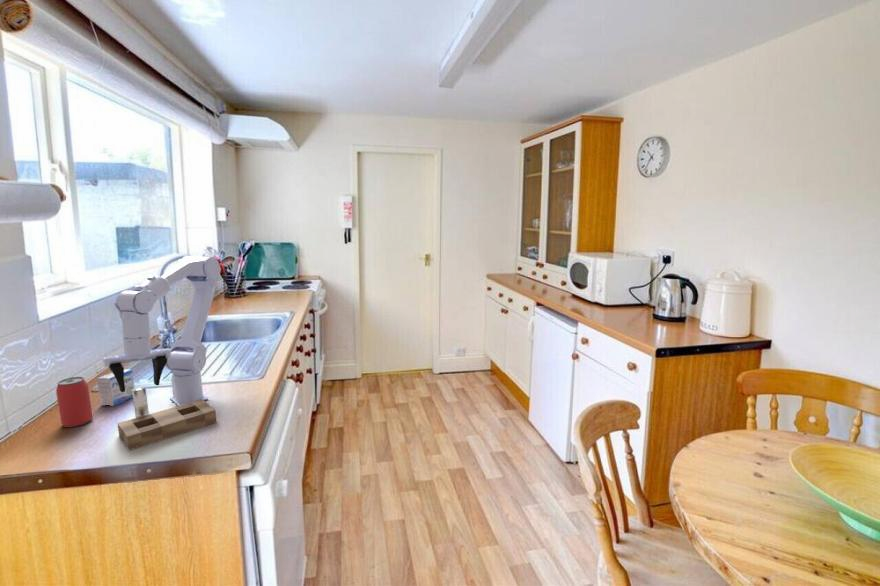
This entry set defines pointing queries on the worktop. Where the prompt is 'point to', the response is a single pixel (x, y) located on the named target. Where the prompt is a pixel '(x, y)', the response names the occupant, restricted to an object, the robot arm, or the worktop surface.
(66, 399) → the beer can
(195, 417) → the hole block
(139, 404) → the steel peg
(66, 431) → the worktop surface
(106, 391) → the medicine box
